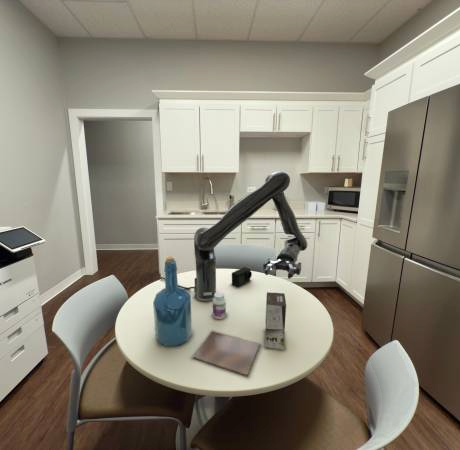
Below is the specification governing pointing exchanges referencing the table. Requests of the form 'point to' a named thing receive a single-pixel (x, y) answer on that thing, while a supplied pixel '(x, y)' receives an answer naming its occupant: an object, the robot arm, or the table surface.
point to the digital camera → (241, 277)
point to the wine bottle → (172, 309)
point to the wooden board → (228, 353)
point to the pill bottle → (219, 305)
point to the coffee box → (275, 320)
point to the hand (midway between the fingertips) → (277, 274)
